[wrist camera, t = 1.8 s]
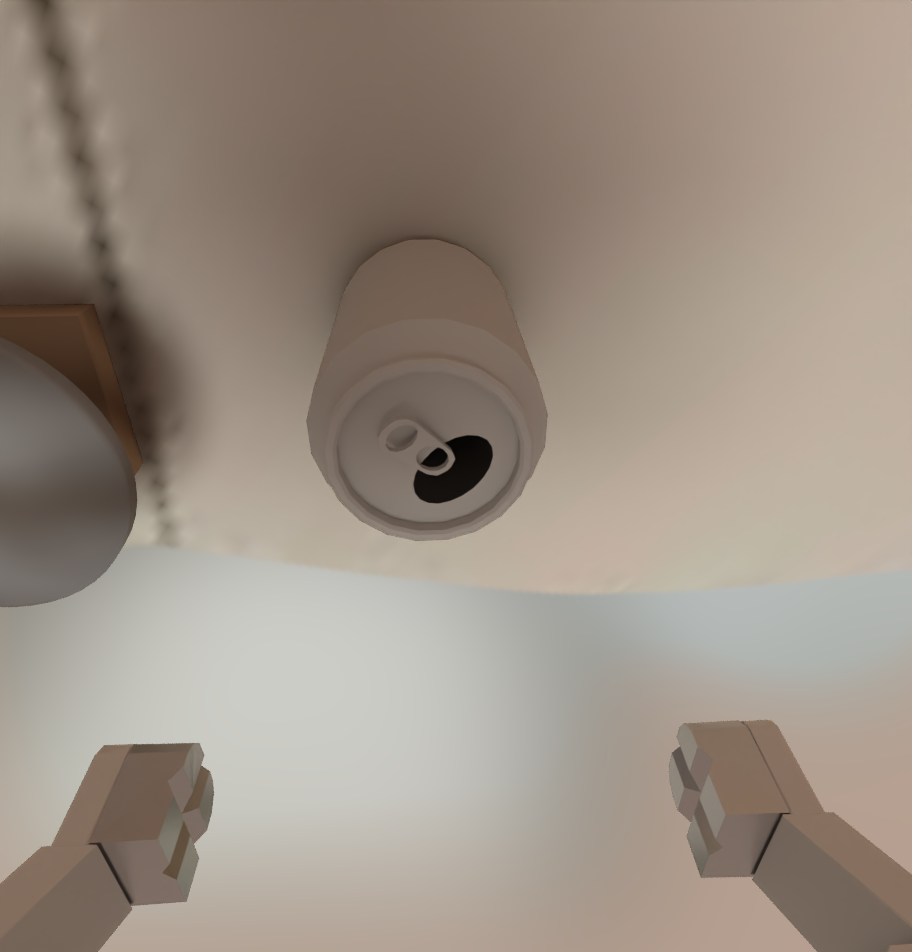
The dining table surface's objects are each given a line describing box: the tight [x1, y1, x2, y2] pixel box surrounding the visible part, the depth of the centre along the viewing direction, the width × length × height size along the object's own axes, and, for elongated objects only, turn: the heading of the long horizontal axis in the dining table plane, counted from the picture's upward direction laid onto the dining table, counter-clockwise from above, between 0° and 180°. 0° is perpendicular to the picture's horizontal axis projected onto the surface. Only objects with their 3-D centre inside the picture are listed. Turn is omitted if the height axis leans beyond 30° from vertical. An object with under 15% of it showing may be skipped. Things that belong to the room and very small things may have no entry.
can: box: [307, 239, 547, 541], centre depth 24 cm, size 8×8×12 cm
